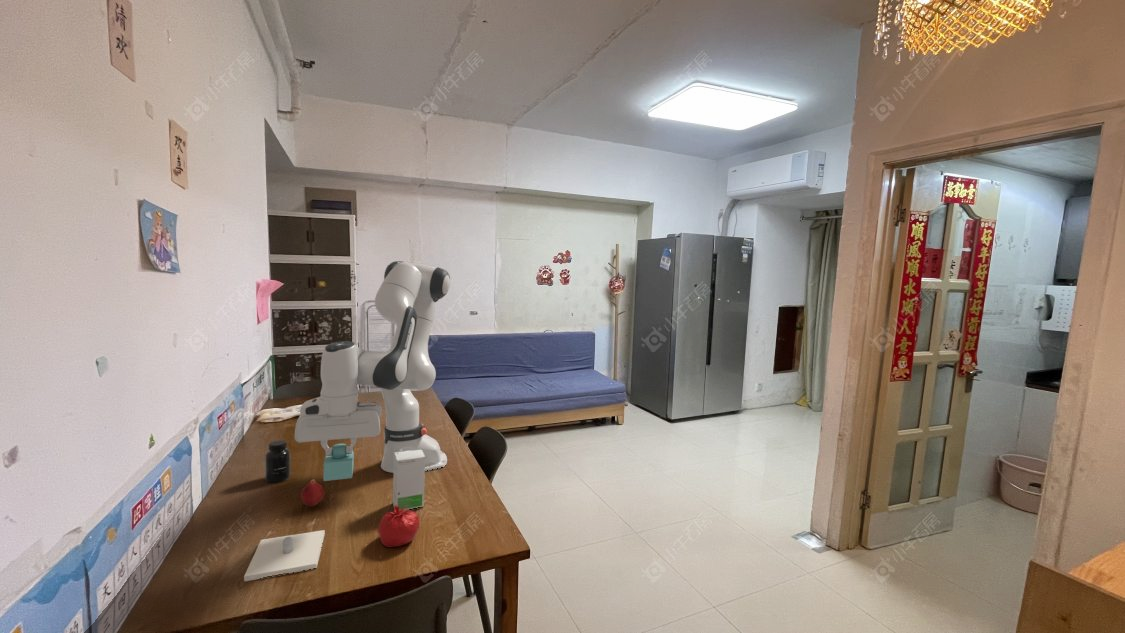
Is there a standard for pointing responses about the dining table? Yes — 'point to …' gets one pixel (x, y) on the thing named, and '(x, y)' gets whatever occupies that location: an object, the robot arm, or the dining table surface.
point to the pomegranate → (398, 527)
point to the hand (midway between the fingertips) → (339, 454)
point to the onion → (312, 494)
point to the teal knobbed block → (338, 463)
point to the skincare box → (409, 479)
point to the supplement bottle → (277, 462)
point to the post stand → (285, 555)
